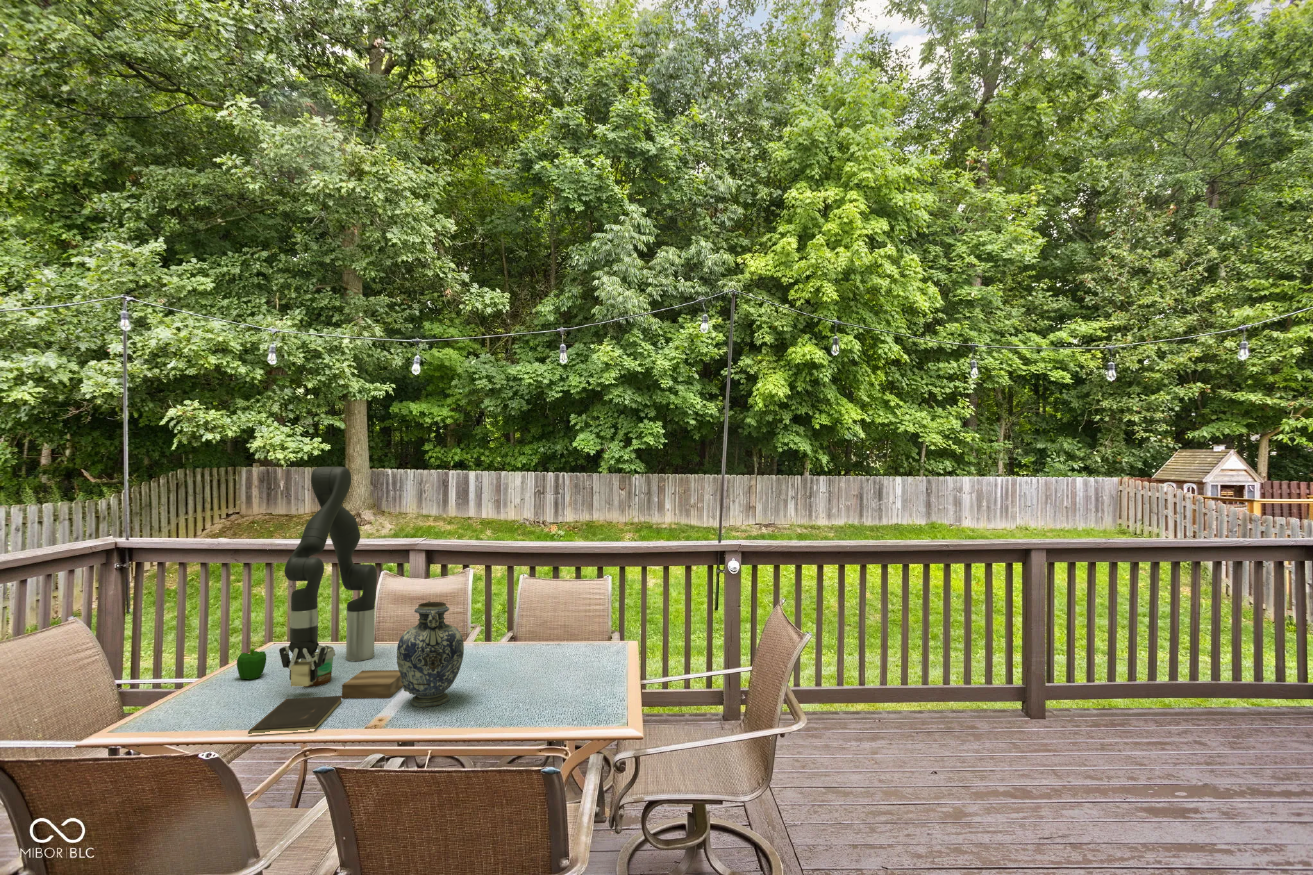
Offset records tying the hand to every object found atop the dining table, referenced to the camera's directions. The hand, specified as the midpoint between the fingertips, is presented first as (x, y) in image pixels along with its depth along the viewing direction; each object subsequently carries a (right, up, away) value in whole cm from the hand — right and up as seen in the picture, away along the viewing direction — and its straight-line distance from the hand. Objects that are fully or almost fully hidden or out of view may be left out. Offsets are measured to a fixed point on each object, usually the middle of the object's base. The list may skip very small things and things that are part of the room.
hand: (303, 681), depth 201 cm
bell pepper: (-26, -5, +17) cm, 32 cm away
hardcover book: (+8, -4, -18) cm, 21 cm away
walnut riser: (+20, -4, +4) cm, 21 cm away
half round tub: (0, -5, +11) cm, 12 cm away
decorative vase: (+40, -4, -6) cm, 41 cm away
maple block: (0, -1, 0) cm, 1 cm away
